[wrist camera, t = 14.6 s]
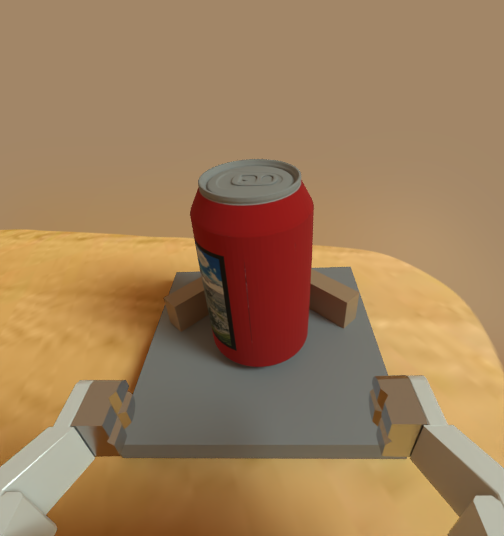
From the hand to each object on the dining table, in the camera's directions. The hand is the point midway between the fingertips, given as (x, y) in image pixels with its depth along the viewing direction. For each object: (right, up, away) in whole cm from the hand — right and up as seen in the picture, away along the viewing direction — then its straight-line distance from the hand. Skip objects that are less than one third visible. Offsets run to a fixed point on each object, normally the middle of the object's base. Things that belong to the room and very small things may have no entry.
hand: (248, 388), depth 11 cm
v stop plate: (+1, -2, +14) cm, 14 cm away
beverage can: (+1, -1, +13) cm, 13 cm away
